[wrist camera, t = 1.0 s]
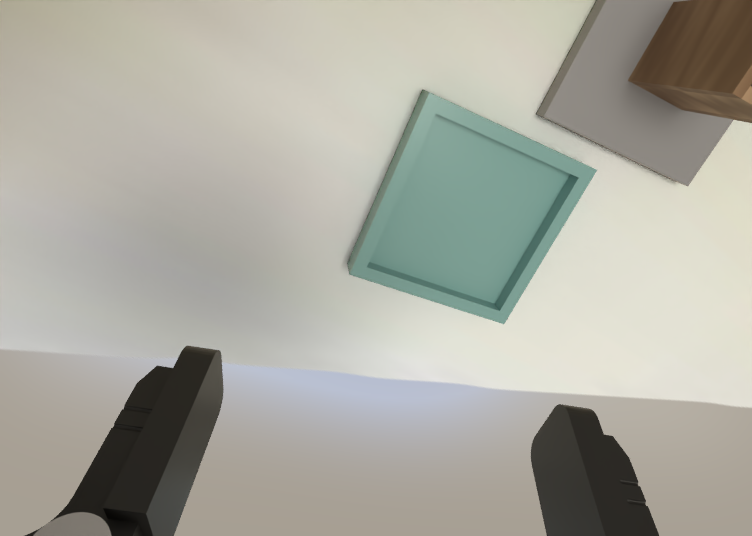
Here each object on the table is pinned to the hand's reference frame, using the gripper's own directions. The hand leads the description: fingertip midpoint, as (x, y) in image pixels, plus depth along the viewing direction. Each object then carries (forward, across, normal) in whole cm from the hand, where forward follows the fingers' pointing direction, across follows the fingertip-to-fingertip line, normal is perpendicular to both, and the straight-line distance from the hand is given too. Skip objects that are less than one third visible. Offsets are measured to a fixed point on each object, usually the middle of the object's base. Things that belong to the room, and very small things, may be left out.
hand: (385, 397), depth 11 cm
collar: (+29, -19, -4) cm, 35 cm away
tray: (+25, -7, +9) cm, 27 cm away
